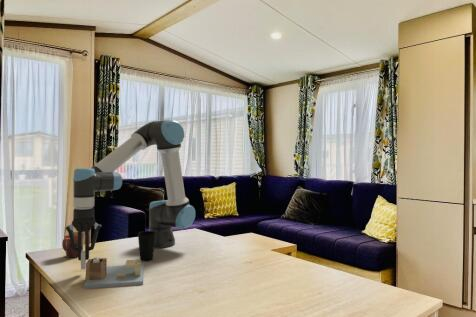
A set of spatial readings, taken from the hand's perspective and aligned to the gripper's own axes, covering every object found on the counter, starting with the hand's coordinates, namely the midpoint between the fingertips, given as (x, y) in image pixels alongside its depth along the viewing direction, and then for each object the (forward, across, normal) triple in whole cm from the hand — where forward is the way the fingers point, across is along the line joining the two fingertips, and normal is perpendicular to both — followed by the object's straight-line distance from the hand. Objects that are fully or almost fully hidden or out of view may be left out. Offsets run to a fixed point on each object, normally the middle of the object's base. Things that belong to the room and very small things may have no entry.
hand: (83, 268), depth 139 cm
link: (+1, -6, +3) cm, 7 cm away
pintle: (+1, -6, +8) cm, 10 cm away
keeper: (+1, -17, +7) cm, 19 cm away
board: (+3, -13, +6) cm, 14 cm away
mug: (+3, +9, -27) cm, 29 cm away
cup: (+3, -24, -16) cm, 29 cm away
